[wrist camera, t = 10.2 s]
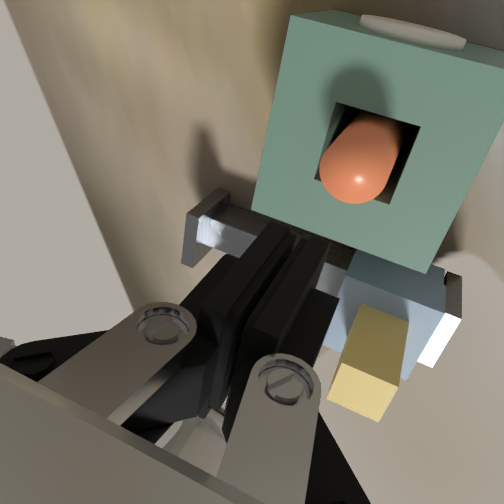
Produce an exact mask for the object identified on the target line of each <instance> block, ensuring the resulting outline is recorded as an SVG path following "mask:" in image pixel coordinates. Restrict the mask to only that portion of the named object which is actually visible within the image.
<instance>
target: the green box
mask: <svg viewBox="0 0 504 504" xmlns="http://www.w3.org/2000/svg"><path fill="white" fill-rule="evenodd" d="M466 41H467V40H466V39H464V38H462V37H460V36H457V35H454V34H451V33H448V32H445V31H441V30H438V29H434V28H431V27H427V26H423V25H419V24H415V23H410V22H406V21H401V20H397V19H392V18H386V17H380V16H374V15H362V16H359V15H355V14H351V13H347V12H343V11H338V10H334V9H331V10H324V11H317V12H309V13H302V14H295V15H291V16H290V21H289V26H288V31H287V35H286V40H285V45H284V50H283V55H282V60H281V65H280V70H279V75H278V79H277V84H276V89H275V94H274V99H273V104H272V109H271V114H270V119H269V124H268V128H267V133H266V138H265V143H264V148H263V153H262V158H261V163H260V168H259V173H258V177H257V182H256V187H255V192H254V197H253V202H252V207H251V210H253V211H256V212H258V213H261V214H264V215H267V216H269V217H272V218H275V219H277V220H280V221H283V222H286V223H288V224H291V225H294V226H296V227H299V228H302V229H305V230H307V231H310V232H313V233H315V234H318V235H321V236H323V237H326V238H329V239H332V240H334V241H337V242H340V243H342V244H345V245H348V246H351V247H353V248H356V249H359V250H361V251H364V252H367V253H370V254H372V255H375V256H378V257H380V258H383V259H386V260H389V261H391V262H394V263H397V264H399V265H402V266H405V267H408V268H410V269H413V270H416V271H418V272H421V273H424V274H426V272H427V270H428V268H429V266H430V265H431V263H432V261H433V259H434V257H435V255H436V253H437V251H438V249H439V247H440V245H441V243H442V241H443V239H444V237H445V235H446V233H447V231H448V229H449V227H450V225H451V223H452V221H453V220H454V218H455V216H456V214H457V212H458V210H459V208H460V206H461V204H462V202H463V200H464V198H465V196H466V194H467V192H468V190H469V188H470V186H471V184H472V182H473V180H474V178H475V176H476V175H477V173H478V171H479V169H480V167H481V165H482V163H483V161H484V159H485V157H486V155H487V153H488V151H489V149H490V147H491V145H492V143H493V141H494V139H495V137H496V135H497V133H498V131H499V130H500V128H501V126H502V124H503V122H504V51H502V50H498V49H494V48H490V47H486V46H482V45H477V44H473V43H469V42H466ZM356 108H359V109H362V110H366V111H369V112H373V113H376V114H379V115H383V116H386V117H390V118H393V119H396V120H400V121H403V122H407V123H410V124H413V125H417V126H418V129H417V131H416V134H415V136H414V139H413V141H412V144H411V146H410V149H409V151H408V153H407V156H402V155H399V154H398V156H397V158H396V161H395V163H394V166H393V168H392V171H391V173H390V176H389V178H388V181H387V183H386V185H385V187H384V189H383V190H382V192H381V193H380V194H379V195H378V196H376V197H375V198H374V199H372V200H370V201H367V202H365V203H359V204H351V203H345V202H342V201H340V200H338V199H336V198H335V197H333V196H332V195H331V194H330V193H329V192H328V191H327V190H326V189H325V187H324V185H323V183H322V181H321V178H320V170H319V169H320V162H321V159H322V156H323V154H324V153H325V151H326V150H327V149H328V148H329V146H330V145H331V144H332V143H333V142H334V141H335V140H336V138H337V137H338V136H339V135H340V134H341V133H342V131H343V130H344V129H345V128H346V127H347V126H348V125H349V123H350V122H351V121H352V119H353V116H354V113H355V109H356Z"/></svg>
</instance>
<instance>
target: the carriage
mask: <svg viewBox="0 0 504 504" xmlns="http://www.w3.org/2000/svg"><path fill="white" fill-rule="evenodd" d="M444 272H445V270H444V269H443V268H440V267H437V266H434V265H432V264H431V265H430V266H429V268H428V270H427V272H426V274H424V273H421V272H418V271H416V270H413V269H410V268H408V267H405V266H402V265H399V264H397V263H394V262H391V261H389V260H386V259H383V258H380V257H378V256H375V255H372V254H370V253H367V252H364V251H361V250H359V249H356V252H355V254H354V256H353V259H352V261H351V263H350V266H349V268H348V271H347V273H346V275H345V278H344V281H343V283H342V286H341V288H340V291H339V294H338V296H337V297H338V298H340V300H339V303H338V305H337V308H336V311H335V313H334V316H333V318H332V321H331V324H330V326H329V329H328V331H327V334H326V336H325V339H324V341H323V344H322V345H324V346H326V347H328V348H331V349H333V350H335V351H338V352H340V353H341V356H340V359H339V362H338V365H337V368H336V371H335V374H334V377H333V380H332V383H331V386H330V389H329V392H328V395H327V398H326V399H328V400H330V401H333V402H335V403H337V404H339V405H341V406H344V407H346V408H348V409H350V410H352V411H355V412H357V413H359V414H361V415H363V416H366V417H368V418H370V419H372V420H375V421H376V422H379V421H380V419H381V417H382V415H383V413H384V412H385V410H386V408H387V407H388V405H389V403H390V401H391V400H392V398H393V396H394V394H395V393H396V391H397V389H398V387H399V382H400V378H401V379H403V380H407V378H408V376H409V375H410V373H411V371H412V369H413V367H414V366H415V364H416V362H417V361H418V359H419V357H420V356H421V354H422V352H423V350H424V349H425V347H426V345H427V344H428V342H429V340H430V338H431V337H432V335H433V333H434V331H435V330H436V328H437V326H438V325H439V323H440V321H441V319H442V318H443V316H444V314H445V302H446V286H445V285H444Z"/></svg>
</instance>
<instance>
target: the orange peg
mask: <svg viewBox="0 0 504 504" xmlns="http://www.w3.org/2000/svg"><path fill="white" fill-rule="evenodd" d="M406 132H407V122H403V121H400V120H396V119H393V118H390V117H386V116H383V115H379V114H376V113H373V112H369V111H366V110H361V111H360V112H359V113H358V114H357V115H356V116H355V118H354V119H353V120H352V121H351V122H350V123H349V125H348V126H347V127H346V128H345V129H344V130H343V131H342V133H341V134H340V135H339V136H338V137H337V138H336V140H335V141H334V142H333V143H332V144H331V145H330V146H329V148H328V149H327V150H326V151H325V153H324V154H323V156H322V159H321V162H320V169H319V170H320V178H321V181H322V183H323V185H324V187H325V189H326V190H327V191H328V192H329V193H330V194H331V195H332V196H333V197H335V198H336V199H338V200H340V201H342V202H345V203H351V204H359V203H365V202H367V201H370V200H372V199H374V198H375V197H376V196H378V195H379V194H380V193H381V192H382V190H383V189H384V187H385V185H386V183H387V181H388V178H389V176H390V173H391V171H392V168H393V166H394V163H395V161H396V158H397V156H398V154H399V151H400V149H401V146H402V144H403V141H404V139H405V136H406Z"/></svg>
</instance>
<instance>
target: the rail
mask: <svg viewBox="0 0 504 504" xmlns="http://www.w3.org/2000/svg"><path fill="white" fill-rule="evenodd" d="M228 198H229V192H228V191H225V190H222V189H219V188H218V189H216V190H215V191H214V192H213V193H211V194H210V195H209V196H208V197H206V198H205V199H204V200H203V201H201V202H200V203H199V204H198V205H196V206H195V207H194V208H193V209H191V210H190V211H189V212H188V213H187V214H186V223H185V233H184V242H183V251H182V260H181V263H182V264H184V265H187V266H189V267H191V268H193V267H194V266H195V265H196V264H197V263H198V262H199V261H200V260H201V259H202V258H203V257H204V256H205V255H206V254H207V253H208V252H209V251H210V250H211V249H212V248H215V249H218V250H220V251H223V252H226V253H228V254H231V255H233V256H236V257H238V258H240V257H241V255H242V254H243V253H244V252H245V251H246V249H247V248H248V247H249V246H250V245H251V243H252V242H253V241H254V240H255V239H256V238H257V236H258V235H259V234H260V233H261V232H262V230H263V229H264V228H265V227H266V226H267V224H268V223H269V222H270V221H271V220H272V219H269V218H266V217H264V216H261V215H258V214H255V213H253V212H250V211H247V210H245V209H242V208H239V207H236V206H234V205H231V204H228ZM273 221H274V220H273ZM275 222H277V221H275ZM278 223H280V222H278ZM281 224H282V223H281ZM283 225H285V224H283ZM286 226H288V225H286ZM289 227H291V226H289ZM290 233H292V234H295V235H296V240H295V244H294V247H293V249H294V248H295V246H296V245H297V243H298V242H299V240H300V239H301V238H302V237H303V238H306V239H309V237H310V236H311V235H312V234H309V233H307V232H304V231H301V230H299V229H296V228H293V227H291V232H290ZM313 236H315V235H313ZM316 237H318V236H316ZM319 238H320V237H319ZM321 239H323V238H321ZM324 240H326V239H324ZM327 241H328V240H327ZM329 242H331V241H329ZM355 252H356V251H355V250H353V249H350V248H347V247H345V246H342V245H339V244H336V243H334V242H331V244H330V248H329V251H328V254H327V257H326V260H325V263H324V266H323V269H322V272H321V274H320V277H319V280H318V283H317V286H316V289H318V290H321V291H323V292H326V293H328V294H331V295H333V296H336V297H337V296H338V294H339V291H340V288H341V286H342V283H343V281H344V278H345V275H346V273H347V271H348V268H349V266H350V263H351V261H352V259H353V256H354V254H355ZM444 285H445V286H446V302H445V314H444V316H443V318H442V319H441V321H440V323H439V325H438V326H437V328H436V330H435V331H434V333H433V335H432V337H431V338H430V340H429V342H428V344H427V345H426V347H425V349H424V350H423V352H422V354H421V356H420V357H419V359H418V362H420V363H423V364H425V365H428V366H430V367H432V366H433V365H434V363H435V362H436V360H437V358H438V357H439V355H440V353H441V352H442V350H443V348H444V347H445V345H446V344H447V342H448V341H449V339H450V337H451V336H452V334H453V332H454V331H455V329H456V327H457V326H458V324H459V323H460V321H461V319H462V276H459V275H456V274H453V273H451V272H448V271H447V273H446V275H445V277H444Z"/></svg>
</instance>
